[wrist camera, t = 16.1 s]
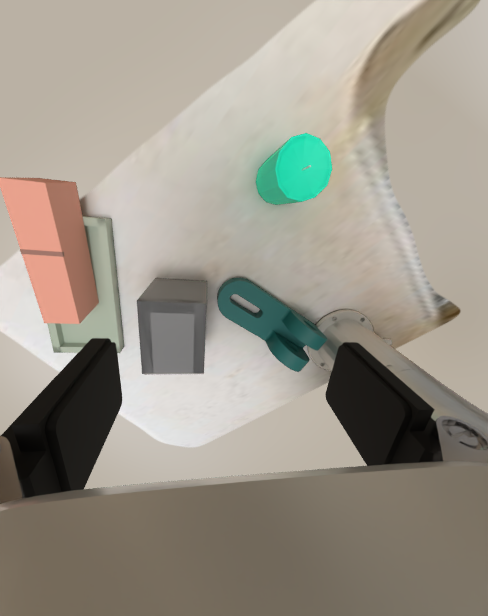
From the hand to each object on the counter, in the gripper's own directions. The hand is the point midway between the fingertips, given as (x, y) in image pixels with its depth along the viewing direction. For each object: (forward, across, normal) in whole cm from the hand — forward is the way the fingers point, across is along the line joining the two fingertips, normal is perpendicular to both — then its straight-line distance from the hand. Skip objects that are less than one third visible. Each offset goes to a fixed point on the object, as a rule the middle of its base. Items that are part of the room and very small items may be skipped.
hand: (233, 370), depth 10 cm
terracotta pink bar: (+27, +19, 0) cm, 33 cm away
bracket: (+29, -9, +9) cm, 32 cm away
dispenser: (+28, +5, +9) cm, 30 cm away
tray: (+28, +19, +6) cm, 35 cm away
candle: (+28, -8, -11) cm, 32 cm away
